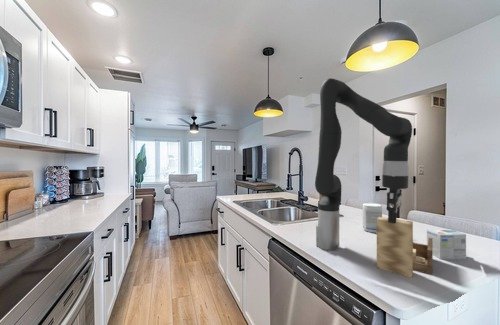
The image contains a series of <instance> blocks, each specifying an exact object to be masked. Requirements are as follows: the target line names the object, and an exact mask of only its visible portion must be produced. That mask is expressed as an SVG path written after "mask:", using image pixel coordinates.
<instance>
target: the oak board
mask: <svg viewBox="0 0 500 325" xmlns="http://www.w3.org/2000/svg"><path fill="white" fill-rule="evenodd" d="M413 238H414V222H413V221H411V220H410V221H409V220H404V219H399V218H396V223H395V224H394V223H389V222H388V217H386V216H385V217H384V216H382V217H378V218H377V233H376V269H380V270H383V271H387V272H391V273H394V274H398V275H401V276H405V277H409V278H413V273H414V270H413V242H414V239H413Z"/></svg>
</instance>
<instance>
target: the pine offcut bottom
mask: <svg viewBox="0 0 500 325" xmlns="http://www.w3.org/2000/svg"><path fill="white" fill-rule="evenodd" d="M413 261H415V262H419V263H424V264H425V258H422V257H417V256H416V260H415V259H413Z"/></svg>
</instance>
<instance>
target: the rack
mask: <svg viewBox="0 0 500 325" xmlns="http://www.w3.org/2000/svg"><path fill="white" fill-rule="evenodd" d="M413 249H416V256H417V257H422V258H425V264H424V263H419V262H415V261H413V271H416V272H421V273H425V274H429V275H433V257H434V256H433V238H428V245H427V244H423V243H419V242H414V241H413Z"/></svg>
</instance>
